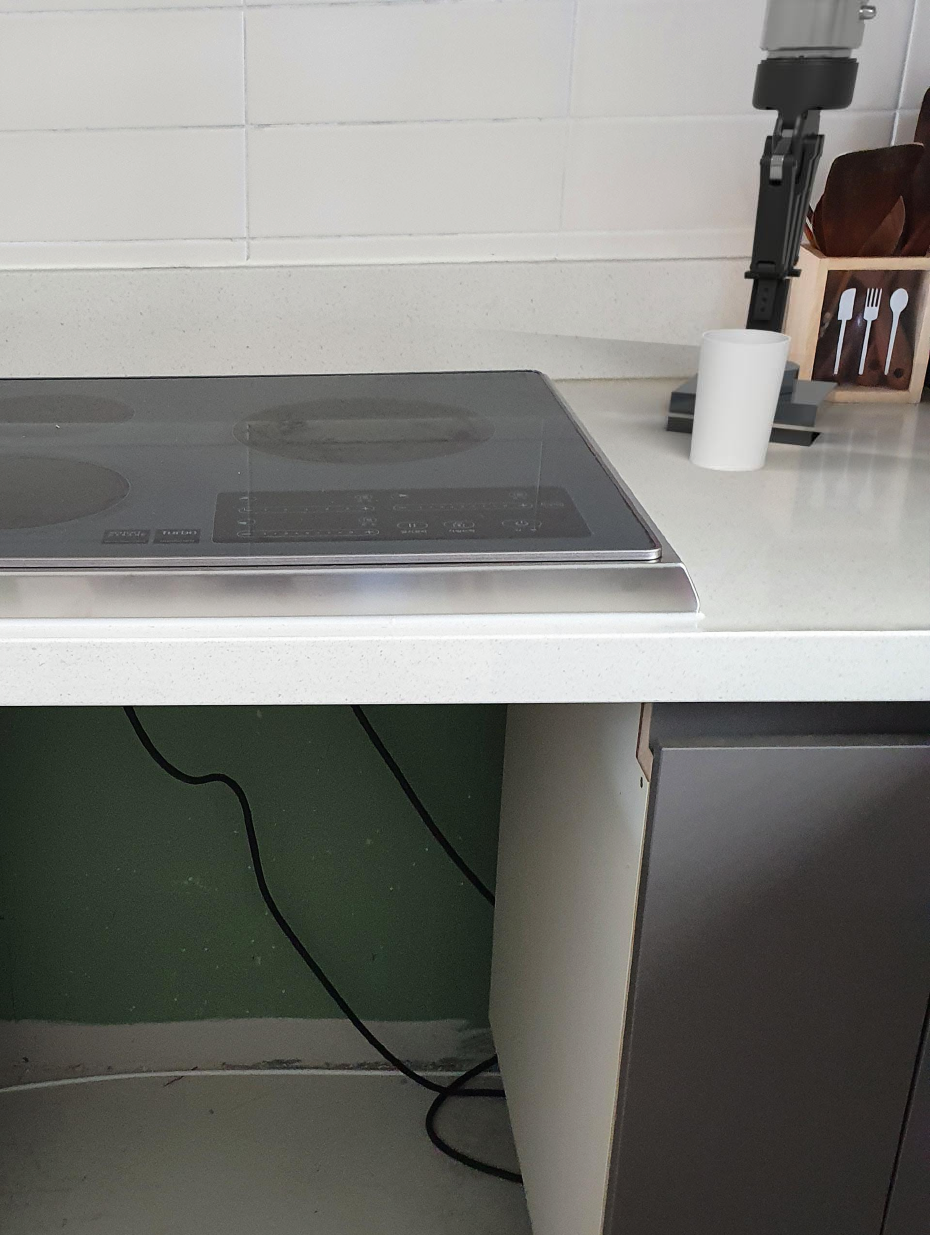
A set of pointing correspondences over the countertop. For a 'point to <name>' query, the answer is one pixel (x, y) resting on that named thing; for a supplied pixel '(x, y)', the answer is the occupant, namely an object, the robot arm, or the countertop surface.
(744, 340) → the white cup
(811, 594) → the countertop surface
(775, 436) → the push button base
